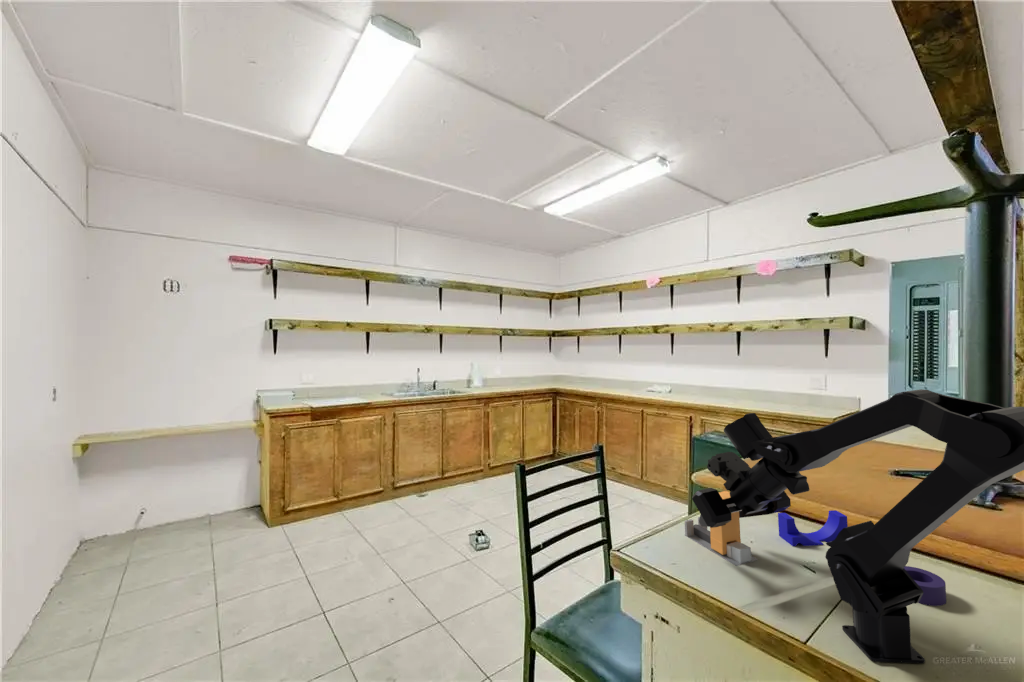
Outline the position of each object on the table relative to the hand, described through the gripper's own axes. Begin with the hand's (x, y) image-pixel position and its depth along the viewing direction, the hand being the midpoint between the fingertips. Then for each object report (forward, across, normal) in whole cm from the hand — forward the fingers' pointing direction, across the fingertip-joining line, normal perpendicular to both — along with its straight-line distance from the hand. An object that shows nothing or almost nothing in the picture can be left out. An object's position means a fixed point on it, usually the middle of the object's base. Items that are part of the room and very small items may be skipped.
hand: (719, 519), depth 86 cm
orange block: (+3, 0, +5) cm, 6 cm away
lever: (-10, -17, +20) cm, 27 cm away
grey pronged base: (+5, 0, +4) cm, 7 cm away
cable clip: (+1, -19, +9) cm, 21 cm away
